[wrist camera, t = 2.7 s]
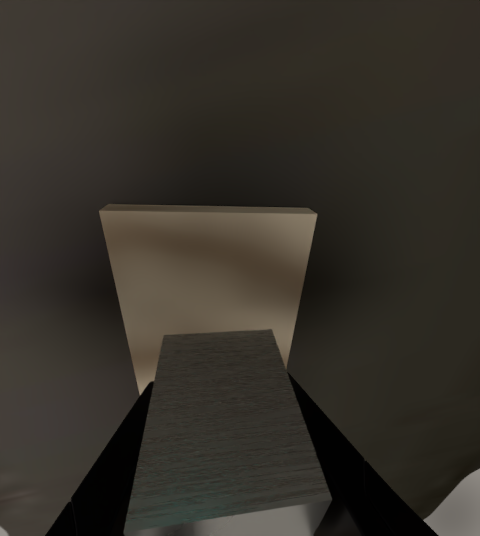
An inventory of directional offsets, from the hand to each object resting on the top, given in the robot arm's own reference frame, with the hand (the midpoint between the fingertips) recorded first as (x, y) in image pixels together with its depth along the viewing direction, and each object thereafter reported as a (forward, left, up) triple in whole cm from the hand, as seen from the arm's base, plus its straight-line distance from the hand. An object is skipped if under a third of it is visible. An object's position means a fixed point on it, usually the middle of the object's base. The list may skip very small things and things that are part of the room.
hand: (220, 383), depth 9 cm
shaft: (-6, 0, -1) cm, 6 cm away
